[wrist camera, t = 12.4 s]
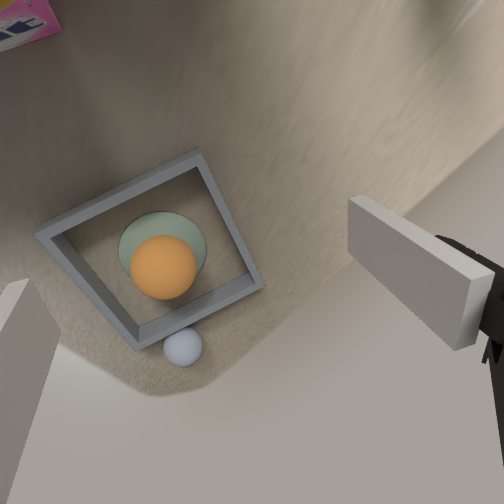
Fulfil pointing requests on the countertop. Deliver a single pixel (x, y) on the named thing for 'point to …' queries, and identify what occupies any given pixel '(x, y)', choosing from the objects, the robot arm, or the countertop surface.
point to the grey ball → (183, 347)
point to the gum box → (25, 22)
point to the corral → (97, 291)
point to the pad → (161, 226)
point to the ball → (163, 267)
